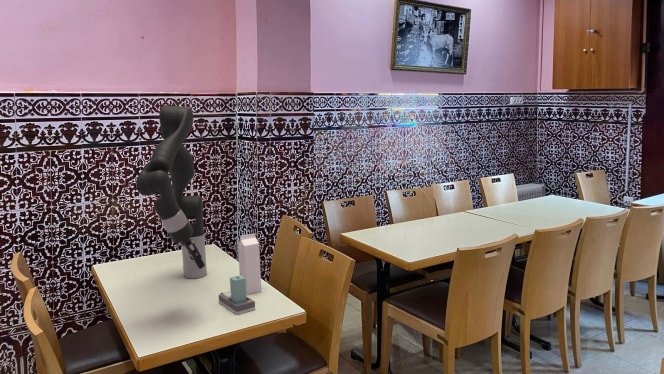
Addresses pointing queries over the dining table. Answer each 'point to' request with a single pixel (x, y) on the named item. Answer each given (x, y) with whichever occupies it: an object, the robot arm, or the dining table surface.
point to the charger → (238, 289)
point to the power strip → (236, 308)
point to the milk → (250, 263)
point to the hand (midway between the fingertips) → (198, 262)
